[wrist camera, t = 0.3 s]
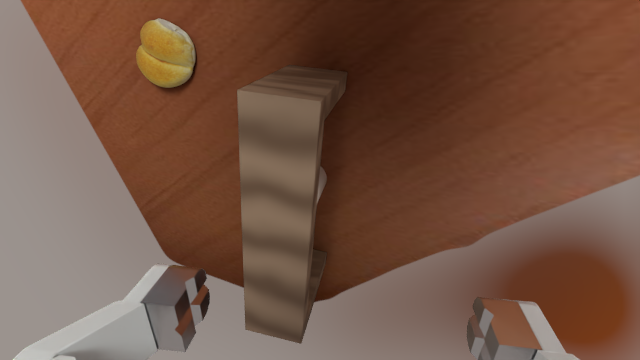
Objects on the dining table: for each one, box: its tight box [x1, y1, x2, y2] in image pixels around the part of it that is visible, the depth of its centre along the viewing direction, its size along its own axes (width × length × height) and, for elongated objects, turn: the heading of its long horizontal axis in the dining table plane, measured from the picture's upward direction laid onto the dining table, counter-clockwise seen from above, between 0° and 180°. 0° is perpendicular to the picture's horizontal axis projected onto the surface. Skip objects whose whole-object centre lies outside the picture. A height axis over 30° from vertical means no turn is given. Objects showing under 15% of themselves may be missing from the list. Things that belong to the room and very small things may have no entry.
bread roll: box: [136, 18, 196, 88], centre depth 47 cm, size 8×9×4 cm
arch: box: [237, 65, 347, 343], centre depth 46 cm, size 33×8×16 cm, turn 175°
